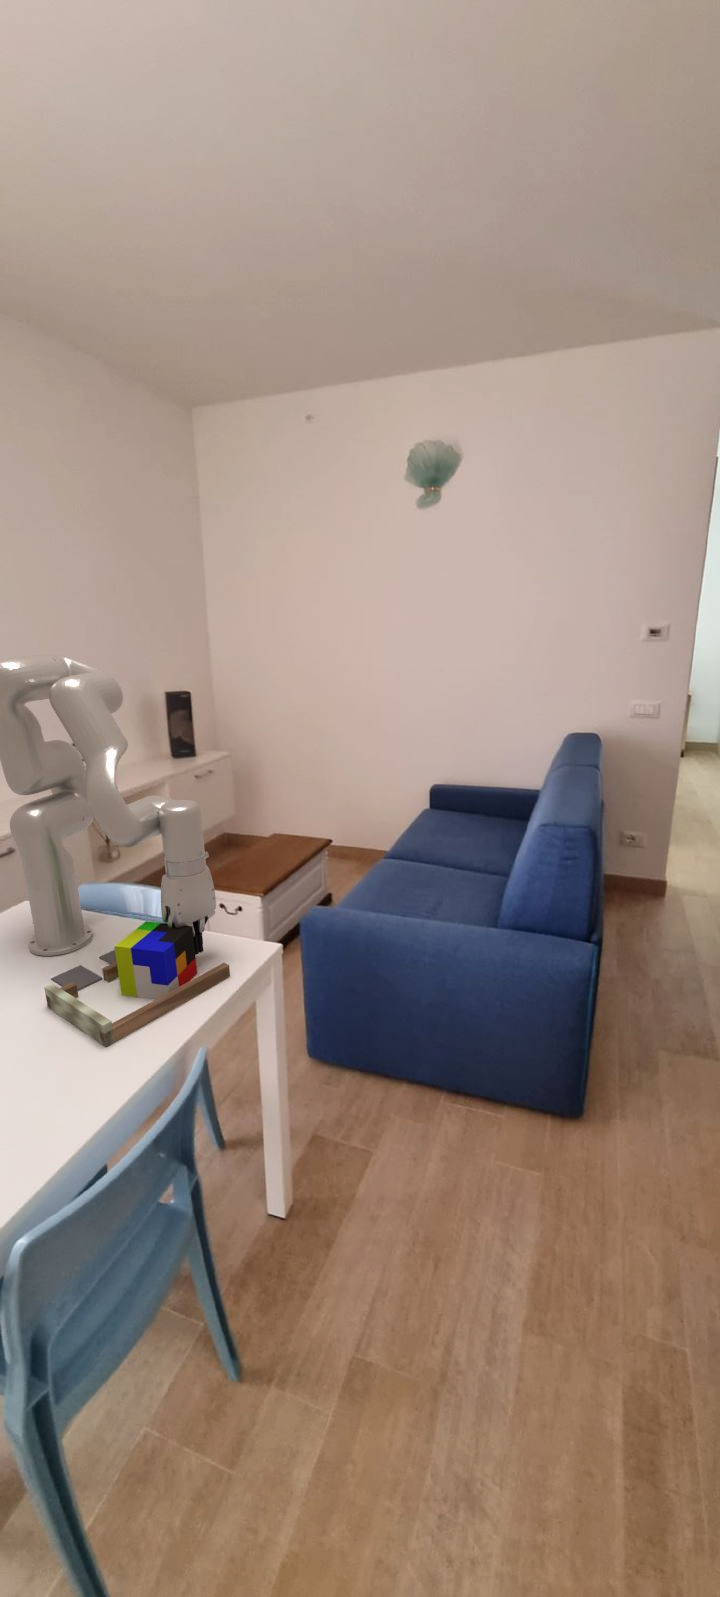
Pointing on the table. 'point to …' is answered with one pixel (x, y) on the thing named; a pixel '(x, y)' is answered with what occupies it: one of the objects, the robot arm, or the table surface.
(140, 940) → the puzzle toy
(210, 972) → the trap box
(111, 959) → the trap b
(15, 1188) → the table surface
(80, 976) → the grey flat block
